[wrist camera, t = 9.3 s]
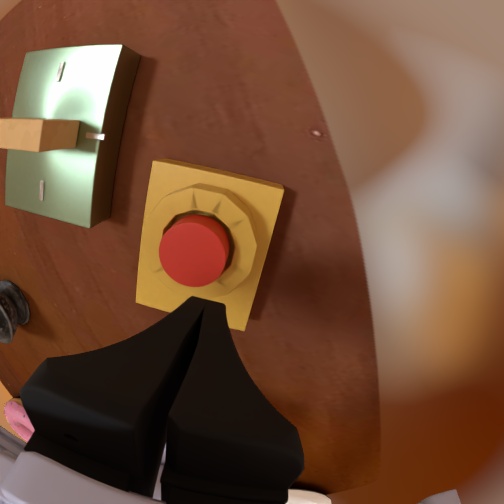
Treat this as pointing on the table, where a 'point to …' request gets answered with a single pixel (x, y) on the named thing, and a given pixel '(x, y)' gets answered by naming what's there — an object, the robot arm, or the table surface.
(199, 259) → the button
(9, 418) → the doughnut
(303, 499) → the plate
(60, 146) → the handle
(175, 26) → the table surface
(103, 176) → the panel
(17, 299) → the salt shaker
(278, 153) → the table surface
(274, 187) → the button block
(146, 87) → the table surface
